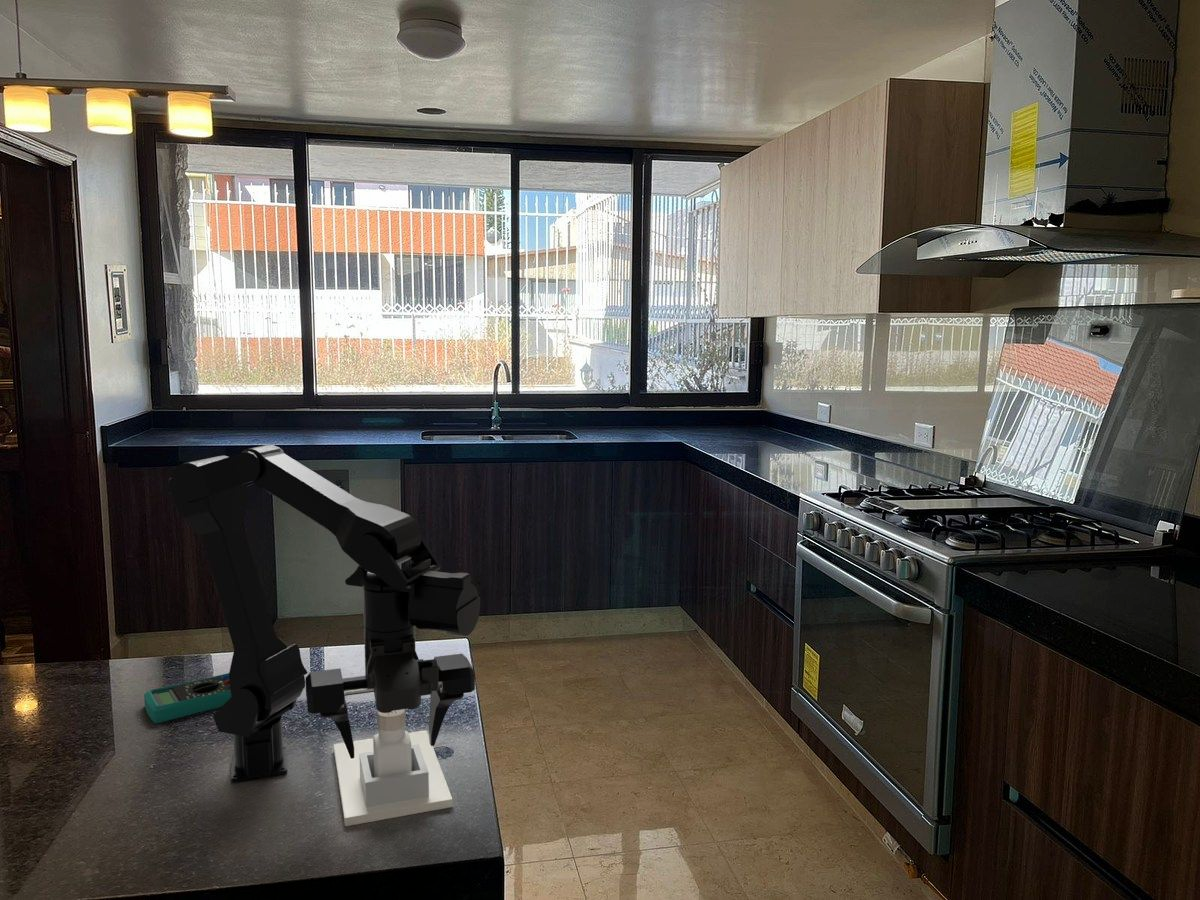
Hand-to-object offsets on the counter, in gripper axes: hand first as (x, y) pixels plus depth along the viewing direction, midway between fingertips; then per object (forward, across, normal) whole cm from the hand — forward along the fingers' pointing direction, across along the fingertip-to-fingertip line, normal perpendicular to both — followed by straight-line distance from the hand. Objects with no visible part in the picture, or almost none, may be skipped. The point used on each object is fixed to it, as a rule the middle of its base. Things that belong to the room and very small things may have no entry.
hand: (392, 750), depth 105 cm
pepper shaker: (+5, 0, 0) cm, 5 cm away
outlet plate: (+6, 0, +4) cm, 7 cm away
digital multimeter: (+6, -23, +34) cm, 42 cm away
